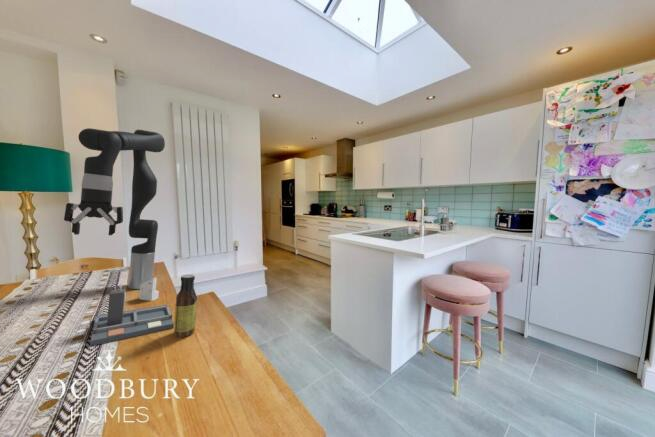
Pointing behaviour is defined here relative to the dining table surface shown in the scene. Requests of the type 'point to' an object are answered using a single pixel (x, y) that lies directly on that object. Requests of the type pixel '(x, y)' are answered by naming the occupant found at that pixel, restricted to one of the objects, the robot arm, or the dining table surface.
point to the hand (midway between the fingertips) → (94, 234)
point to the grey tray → (132, 324)
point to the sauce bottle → (185, 307)
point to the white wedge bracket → (149, 290)
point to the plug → (116, 307)
